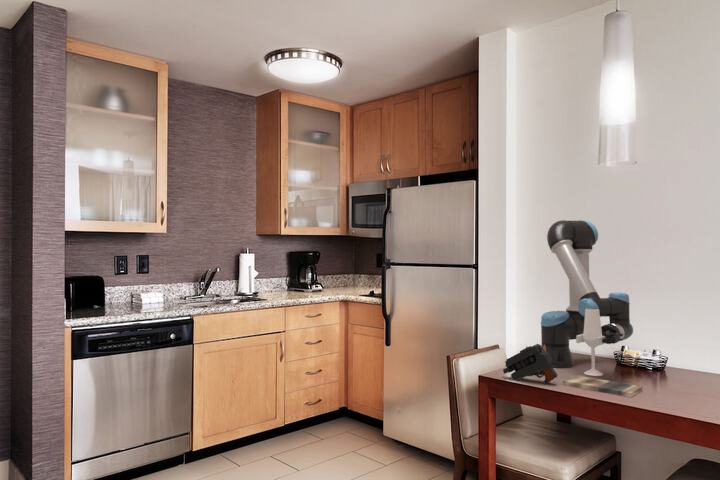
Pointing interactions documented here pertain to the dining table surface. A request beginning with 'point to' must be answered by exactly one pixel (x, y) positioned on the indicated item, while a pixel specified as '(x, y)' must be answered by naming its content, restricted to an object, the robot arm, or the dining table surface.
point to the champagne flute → (592, 336)
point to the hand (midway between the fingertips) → (587, 340)
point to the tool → (531, 364)
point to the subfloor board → (603, 386)
